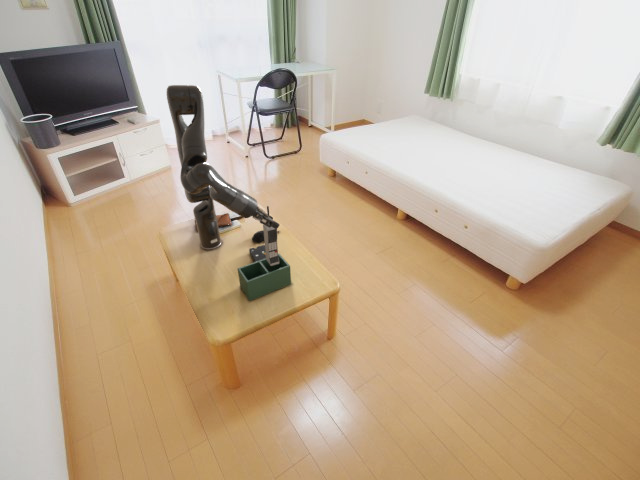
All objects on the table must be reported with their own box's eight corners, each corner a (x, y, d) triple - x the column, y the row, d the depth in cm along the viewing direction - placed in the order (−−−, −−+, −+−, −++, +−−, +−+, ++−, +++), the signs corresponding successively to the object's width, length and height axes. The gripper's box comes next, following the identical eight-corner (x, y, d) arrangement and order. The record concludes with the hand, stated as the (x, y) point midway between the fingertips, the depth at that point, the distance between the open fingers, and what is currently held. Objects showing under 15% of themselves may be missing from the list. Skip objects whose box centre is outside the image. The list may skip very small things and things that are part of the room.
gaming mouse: (282, 234, 169) (281, 228, 167) (256, 245, 161) (255, 238, 159) (275, 229, 173) (274, 222, 171) (249, 239, 165) (248, 232, 163)
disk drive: (249, 253, 156) (259, 272, 145) (248, 248, 155) (258, 267, 144) (270, 247, 160) (281, 265, 149) (269, 243, 159) (281, 260, 148)
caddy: (240, 286, 138) (237, 268, 132) (280, 271, 146) (279, 253, 140) (249, 301, 131) (246, 282, 126) (291, 284, 139) (290, 265, 134)
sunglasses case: (197, 232, 169) (194, 219, 168) (197, 232, 175) (193, 219, 175) (233, 224, 175) (230, 212, 174) (231, 224, 182) (228, 212, 181)
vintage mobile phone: (270, 266, 132) (265, 211, 118) (266, 259, 135) (260, 204, 121) (279, 263, 133) (275, 208, 119) (274, 257, 137) (270, 202, 123)
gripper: (255, 202, 108) (289, 224, 120) (238, 185, 117) (272, 207, 130) (241, 221, 108) (277, 240, 121) (226, 202, 118) (260, 222, 130)
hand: (274, 223), depth 125 cm, fingers closed on vintage mobile phone, 4 cm apart
